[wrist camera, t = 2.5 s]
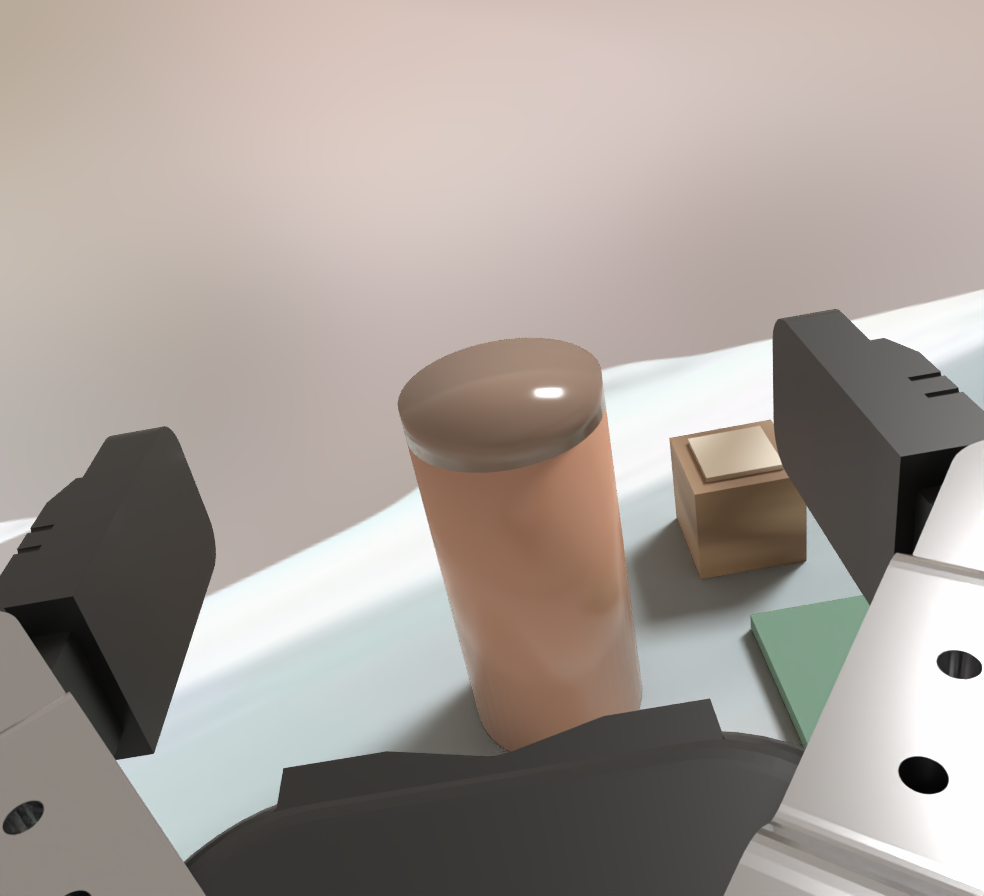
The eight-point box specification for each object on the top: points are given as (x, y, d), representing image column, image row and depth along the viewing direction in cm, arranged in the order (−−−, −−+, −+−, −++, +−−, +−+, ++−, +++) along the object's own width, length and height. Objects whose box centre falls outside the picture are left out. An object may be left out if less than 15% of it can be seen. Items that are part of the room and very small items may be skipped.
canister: (625, 623, 34) (584, 324, 28) (658, 745, 29) (618, 415, 23) (474, 649, 34) (400, 358, 28) (481, 774, 29) (394, 456, 23)
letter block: (772, 502, 38) (770, 415, 36) (806, 562, 35) (806, 469, 33) (676, 519, 39) (669, 433, 36) (700, 580, 35) (694, 490, 33)
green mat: (1038, 577, 32) (1041, 564, 32) (1260, 828, 24) (1267, 812, 23) (750, 627, 32) (750, 614, 32) (866, 891, 24) (867, 877, 24)
